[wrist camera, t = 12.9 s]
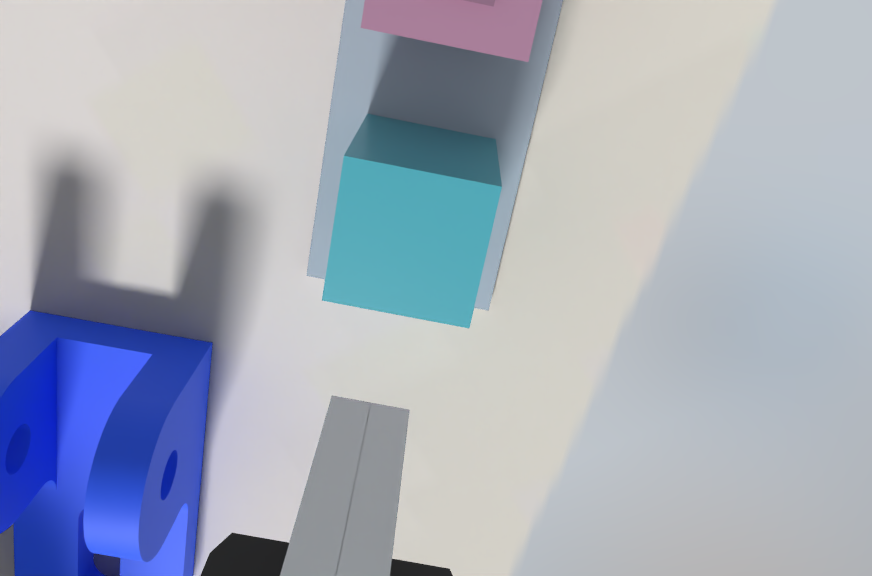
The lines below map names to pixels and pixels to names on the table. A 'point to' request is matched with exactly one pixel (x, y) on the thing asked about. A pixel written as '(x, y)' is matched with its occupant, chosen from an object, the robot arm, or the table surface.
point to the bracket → (101, 446)
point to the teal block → (413, 220)
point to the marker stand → (439, 90)
